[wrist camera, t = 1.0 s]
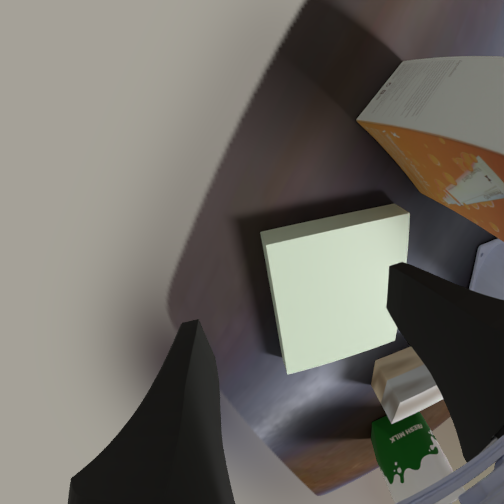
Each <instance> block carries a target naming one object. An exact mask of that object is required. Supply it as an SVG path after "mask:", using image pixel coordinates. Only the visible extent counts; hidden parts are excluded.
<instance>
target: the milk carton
mask: <svg viewBox="0 0 504 504" xmlns="http://www.w3.org/2000/svg"><path fill="white" fill-rule="evenodd" d="M371 441H372V444H373V448H374V452H375V456H376V459H377V462H378V465H379V467H380V470H381V472H382V474H383V477H384V479H385V481H386V484H387V486H388V488H389V491H390V493H391V495H392V498H393V500H394V502H395V504H396V503H398V502H400V501H402V500H404V499H406V498H408V497H410V496H412V495H414V494H416V493H418V492H420V491H422V490H423V489H425V488H427V487H429V486H431V485H432V484H434V483H436V482H438V481H439V480H441V479H443V478H444V477H446V476H448V475H449V474H451V473H452V472H453V470H452V468H451V466H450V464H449V462H448V460H447V458H446V456H445V455H444V453H443V451H442V449H441V447H440V445H439V444H438V442H437V440H436V438H435V436H434V435H433V433H432V431H431V430H430V428H429V426H428V425H427V423H426V421H425V420H424V418H423V416H422V415H421V413H420V412H417V413H415V414H412V415H410V416H408V417H406V418H404V419H402V420H400V421H397V422H395V423H393V424H391V422H390V420H389V418H388V416H385V417H382V418H380V419H378V420H376V421H374V422H372V431H371ZM464 492H465V489H464V488H463V486H462V487H460V488H459V489H457V490H456V491H454V492H453V493H451V494H450V495H448V496H446V497H445V498H443V499H441V500H440V501H438V502H436V503H435V504H452V503H453V502H455V501H456V500H458V497H459V495H461V494H462V493H464Z"/></svg>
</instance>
